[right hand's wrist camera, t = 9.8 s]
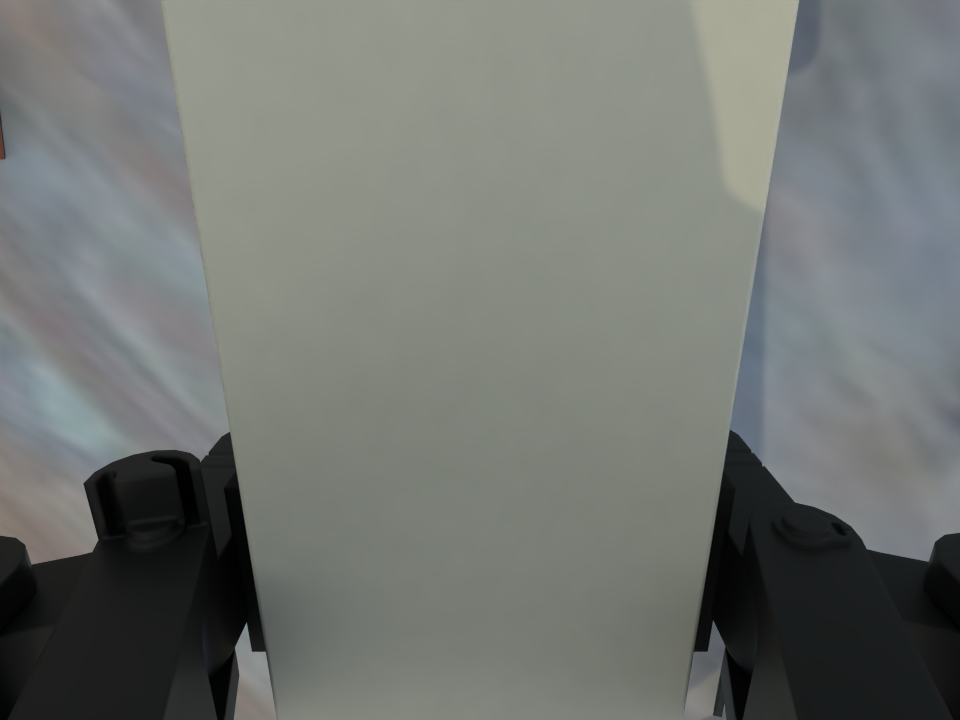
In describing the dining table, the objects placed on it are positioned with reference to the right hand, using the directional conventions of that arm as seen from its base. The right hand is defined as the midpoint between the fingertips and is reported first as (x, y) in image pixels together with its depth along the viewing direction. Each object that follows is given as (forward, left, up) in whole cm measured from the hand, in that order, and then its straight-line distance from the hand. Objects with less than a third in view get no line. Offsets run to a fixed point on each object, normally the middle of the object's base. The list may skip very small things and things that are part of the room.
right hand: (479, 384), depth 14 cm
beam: (+9, +5, 0) cm, 10 cm away
